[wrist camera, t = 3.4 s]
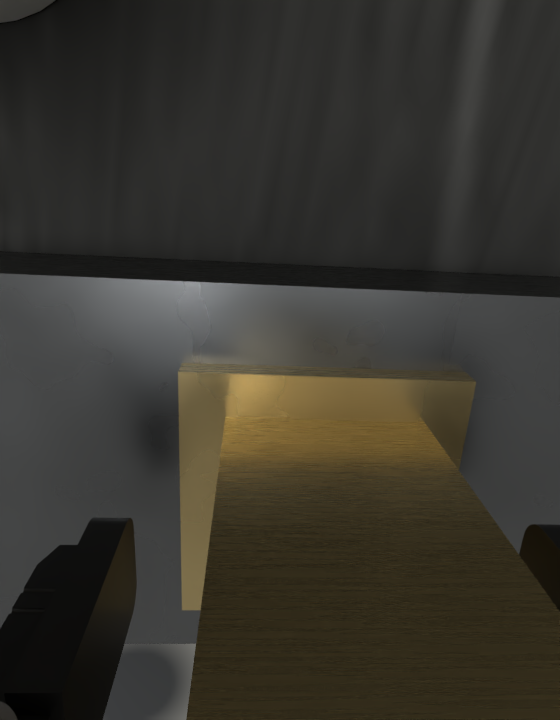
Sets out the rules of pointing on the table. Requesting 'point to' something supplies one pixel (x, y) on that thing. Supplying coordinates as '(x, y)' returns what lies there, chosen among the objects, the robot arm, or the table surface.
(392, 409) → the brass plug
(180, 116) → the table surface
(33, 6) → the coffee cup
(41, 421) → the grey metal block
